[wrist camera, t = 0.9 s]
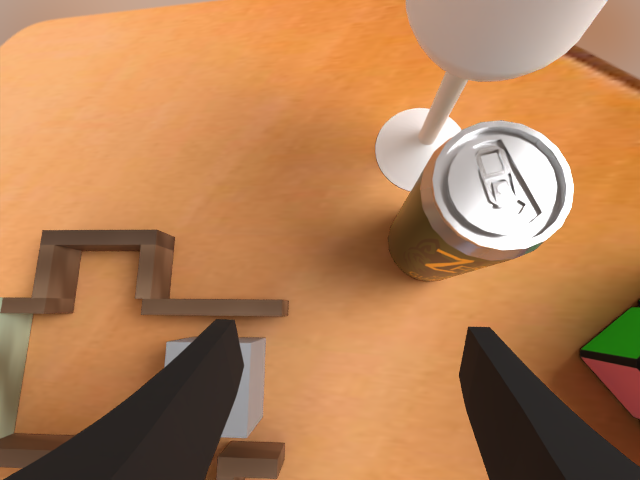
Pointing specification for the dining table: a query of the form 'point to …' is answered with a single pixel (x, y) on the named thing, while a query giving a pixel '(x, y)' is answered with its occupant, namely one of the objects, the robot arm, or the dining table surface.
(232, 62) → the dining table surface
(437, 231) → the beer can
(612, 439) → the dining table surface
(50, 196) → the dining table surface
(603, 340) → the puzzle cube
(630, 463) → the robot arm
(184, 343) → the block
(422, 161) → the champagne flute
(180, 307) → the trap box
